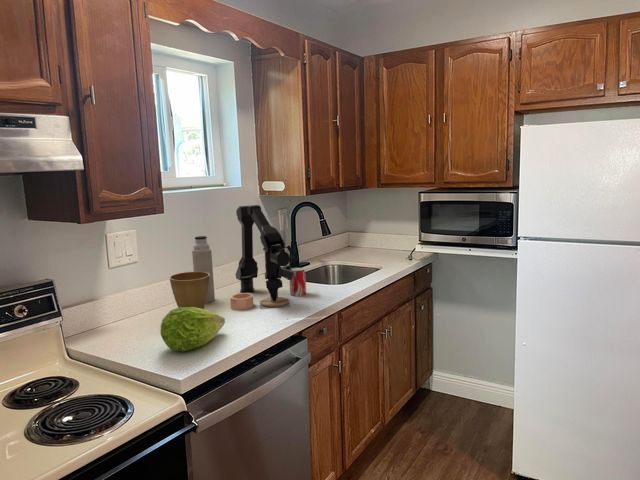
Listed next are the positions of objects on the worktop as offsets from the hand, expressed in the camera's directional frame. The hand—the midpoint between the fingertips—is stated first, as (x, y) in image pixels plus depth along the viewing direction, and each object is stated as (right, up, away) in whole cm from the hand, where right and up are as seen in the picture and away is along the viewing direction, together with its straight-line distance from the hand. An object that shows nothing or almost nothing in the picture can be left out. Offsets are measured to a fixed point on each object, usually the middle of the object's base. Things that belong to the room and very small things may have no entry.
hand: (274, 299), depth 194 cm
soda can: (+9, 0, +14) cm, 16 cm away
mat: (0, -2, 0) cm, 2 cm away
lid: (0, -1, 0) cm, 1 cm away
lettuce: (-21, -9, -39) cm, 45 cm away
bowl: (-13, -3, -2) cm, 13 cm away
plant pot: (-31, -5, -9) cm, 32 cm away
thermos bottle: (-31, -2, +12) cm, 33 cm away
